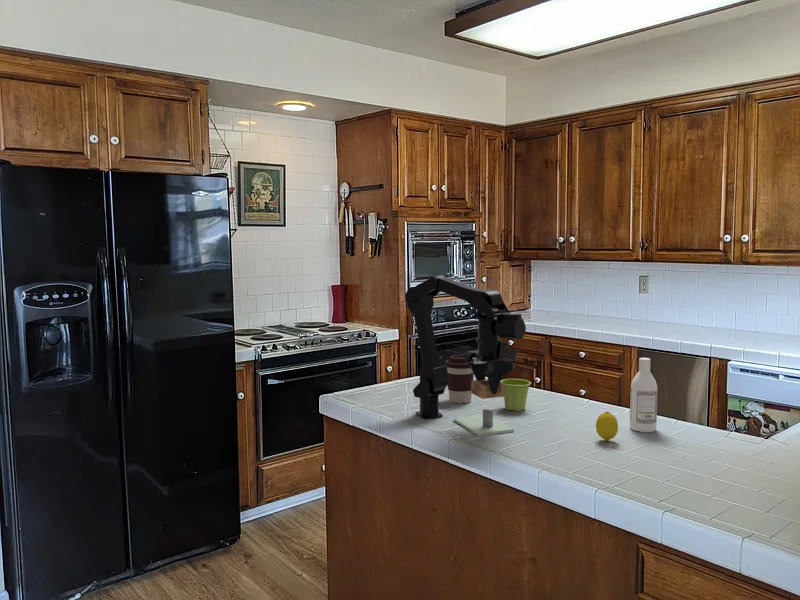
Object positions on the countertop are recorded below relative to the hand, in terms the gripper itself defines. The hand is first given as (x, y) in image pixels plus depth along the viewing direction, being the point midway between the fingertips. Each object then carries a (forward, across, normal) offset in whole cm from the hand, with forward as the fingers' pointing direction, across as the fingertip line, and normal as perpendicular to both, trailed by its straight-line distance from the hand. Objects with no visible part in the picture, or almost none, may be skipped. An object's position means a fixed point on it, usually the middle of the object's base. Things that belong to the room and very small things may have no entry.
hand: (488, 391), depth 178 cm
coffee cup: (+11, +31, -6) cm, 33 cm away
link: (+1, 0, 0) cm, 1 cm away
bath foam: (+11, -16, -40) cm, 44 cm away
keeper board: (+11, +3, 0) cm, 11 cm away
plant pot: (+11, +16, -18) cm, 26 cm away
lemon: (+11, -21, -24) cm, 34 cm away
